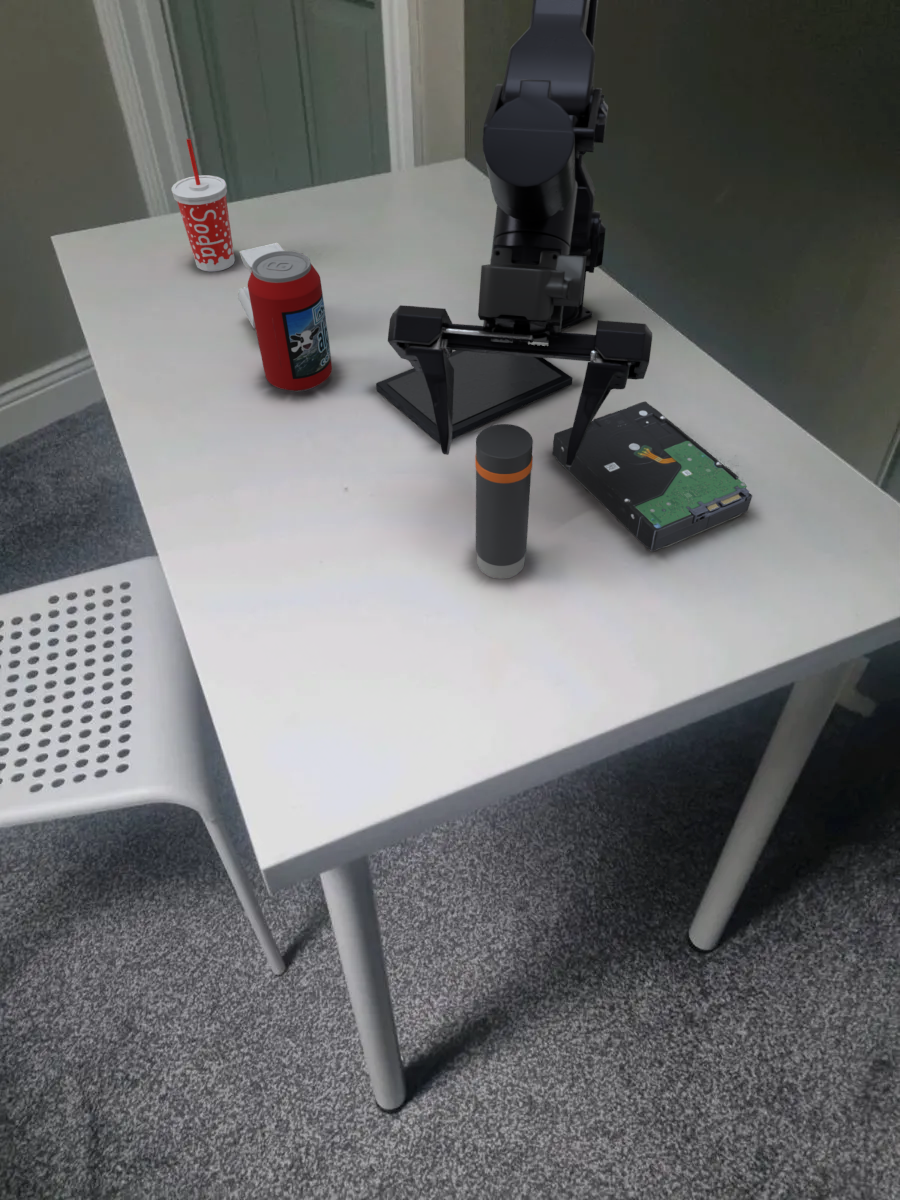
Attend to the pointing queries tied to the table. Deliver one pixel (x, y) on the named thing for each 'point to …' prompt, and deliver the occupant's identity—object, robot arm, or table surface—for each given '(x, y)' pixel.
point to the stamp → (248, 259)
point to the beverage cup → (205, 218)
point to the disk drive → (653, 476)
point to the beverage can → (290, 320)
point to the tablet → (476, 389)
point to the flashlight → (502, 498)
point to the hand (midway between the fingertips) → (506, 459)
